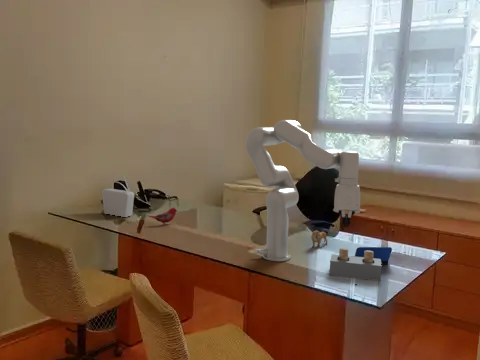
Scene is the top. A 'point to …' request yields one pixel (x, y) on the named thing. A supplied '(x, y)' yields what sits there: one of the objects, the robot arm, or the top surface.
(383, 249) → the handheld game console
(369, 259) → the peg
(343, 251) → the peg
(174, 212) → the decorative bird figurine
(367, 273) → the block
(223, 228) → the top surface
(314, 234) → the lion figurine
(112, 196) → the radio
